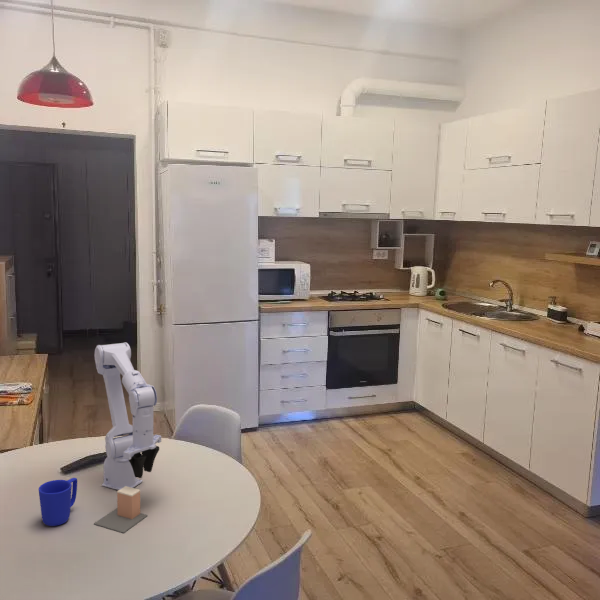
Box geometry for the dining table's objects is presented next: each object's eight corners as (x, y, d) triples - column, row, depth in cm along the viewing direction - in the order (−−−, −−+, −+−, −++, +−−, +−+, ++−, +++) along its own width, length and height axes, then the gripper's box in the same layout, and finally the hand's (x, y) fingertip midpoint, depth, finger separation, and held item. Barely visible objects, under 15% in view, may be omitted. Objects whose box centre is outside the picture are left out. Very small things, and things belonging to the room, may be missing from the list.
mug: (88, 510, 164) (87, 476, 163) (57, 531, 153) (56, 496, 151) (64, 504, 167) (63, 471, 165) (32, 525, 156) (31, 490, 154)
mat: (93, 524, 157) (93, 523, 157) (118, 507, 166) (118, 506, 166) (123, 533, 153) (123, 532, 153) (147, 515, 162) (147, 514, 162)
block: (117, 515, 162) (117, 491, 161) (125, 509, 165) (125, 486, 164) (132, 519, 160) (131, 495, 159) (140, 513, 163) (140, 489, 162)
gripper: (138, 439, 157) (138, 487, 159) (170, 423, 170) (169, 467, 172) (117, 435, 160) (117, 482, 162) (150, 419, 173) (150, 462, 175)
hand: (143, 474), depth 167 cm, fingers open, 4 cm apart
